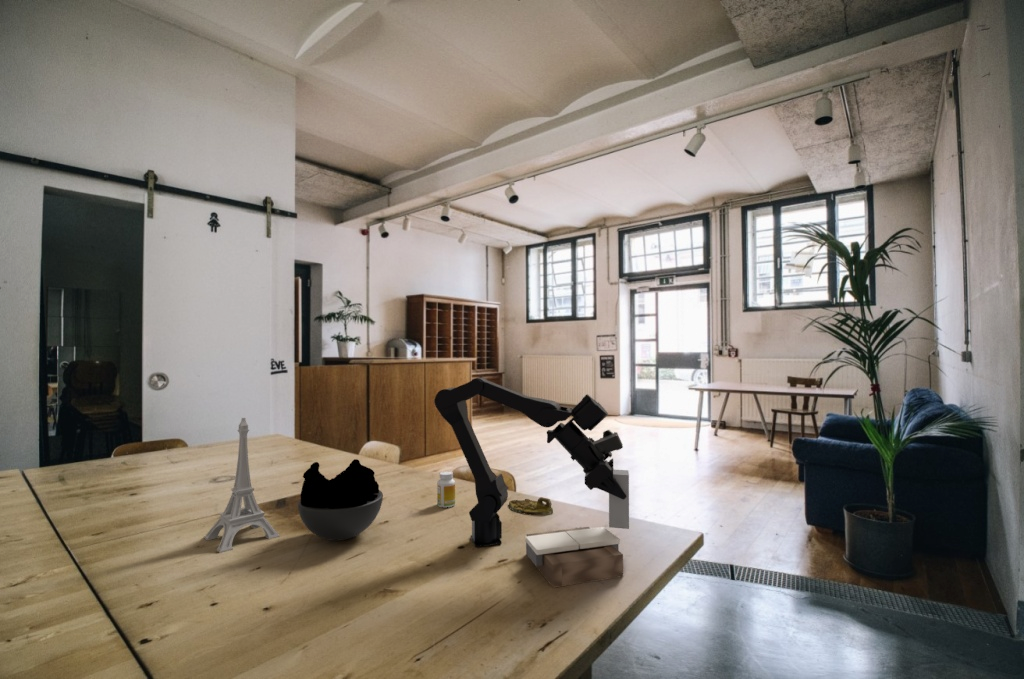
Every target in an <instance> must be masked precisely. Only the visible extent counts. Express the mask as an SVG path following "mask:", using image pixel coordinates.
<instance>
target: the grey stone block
mask: <svg viewBox="0 0 1024 679" xmlns="http://www.w3.org/2000/svg"><path fill="white" fill-rule="evenodd" d="M629 472H630V471H629V470H627V469H626V470H625V469H614V470H613V476H614V478H615V479H616V481H617V482H618V484H619V485H620V487H621V488H622V490H623V491H624V493H625V494H626V496H627V497H626V498H625V499H621V498H619V497H616V496H614V495H612V494H610V493H608V528H614V529H625V530H630V474H629Z"/></svg>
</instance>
